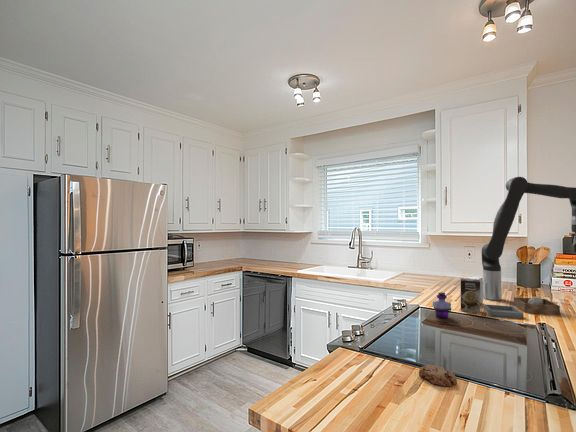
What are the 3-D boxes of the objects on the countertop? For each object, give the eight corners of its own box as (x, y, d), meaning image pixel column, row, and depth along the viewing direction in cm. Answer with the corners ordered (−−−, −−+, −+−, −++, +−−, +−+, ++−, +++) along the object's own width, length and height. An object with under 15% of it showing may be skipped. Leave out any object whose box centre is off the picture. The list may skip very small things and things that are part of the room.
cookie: (424, 368, 103) (423, 359, 103) (460, 378, 96) (460, 368, 96) (413, 380, 95) (413, 370, 95) (453, 392, 88) (452, 381, 88)
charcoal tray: (491, 316, 158) (491, 311, 158) (483, 309, 171) (483, 304, 171) (523, 318, 154) (523, 313, 154) (513, 311, 167) (512, 306, 167)
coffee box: (460, 311, 168) (460, 280, 168) (460, 308, 173) (459, 278, 174) (480, 313, 163) (480, 281, 164) (480, 310, 169) (479, 279, 170)
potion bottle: (454, 320, 152) (453, 294, 152) (434, 319, 154) (434, 294, 154) (449, 315, 160) (448, 291, 161) (430, 314, 162) (430, 290, 162)
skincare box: (472, 301, 188) (471, 276, 188) (483, 303, 183) (483, 277, 183) (466, 303, 182) (465, 277, 183) (477, 305, 178) (477, 279, 178)
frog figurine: (538, 312, 165) (537, 298, 165) (524, 308, 172) (524, 295, 172) (546, 311, 166) (546, 297, 167) (533, 307, 173) (533, 294, 173)
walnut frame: (524, 312, 164) (524, 303, 164) (513, 305, 178) (513, 297, 178) (560, 314, 160) (559, 305, 160) (546, 307, 174) (545, 299, 174)
